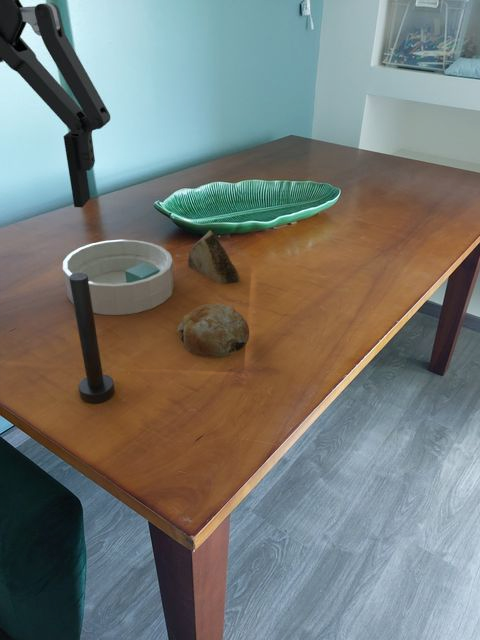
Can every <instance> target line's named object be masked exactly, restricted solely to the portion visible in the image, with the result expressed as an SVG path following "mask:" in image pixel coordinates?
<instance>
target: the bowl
mask: <svg viewBox="0 0 480 640" xmlns="http://www.w3.org/2000/svg"><path fill="white" fill-rule="evenodd" d="M141 263H144V264H147V265H149V266H152V267H154V268H157V269H159V273H158V274H155V275H153V276H151V277H149V278H147V279H143V280H139V281H135V282H130V283H126V275H125V270H128V269H130V268H132V267H134V266H136V265H139V264H141ZM62 273H63V279H64V284H65V290H66V294H67V298H68V300H69V301H70V302H71V303H72V305H73V306H74V303H73V297H72V291H71V285H70V280H69V276H70V275H72V274H74V273H85V274H87V276H88V282H89V288H90V295H91V301H92V308H93V314H97V315H104V316H105V315H107V316H122V315H123V316H124V315H132V314H137V313H142V312H146V311H149V310H152V309H154V308H156V307H158V306H161V304H163V303H165V302H166V301H167V300H168V299H169V298H170V297H172V296H173V295H172V294H173V292H174V289H175V283H174V282H175V280H174V261H173V257H172V255H171V253H170V252H169V251H168V250H167V249H165V248H164V247H163V246H160V245H157V244H156V243H153V242H148V241H142V240H136V239H111V240H103V241H98V242H94V243H89V244H87V245H83V246H81V247H79V248H76V249H75V250H74V251H72V252H70V253H68V254H67V255H66V257H65V259H64V260H63V262H62Z"/></svg>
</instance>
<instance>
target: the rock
mask: <svg viewBox="0 0 480 640" xmlns="http://www.w3.org/2000/svg"><path fill="white" fill-rule="evenodd" d="M187 266H188V267H190V268H192V269H194V270H195V271H197V272H198V273H200V274H202V275H204V276H206V277H207V278H209V279H210V280H212V281H214V282H215V283H216V284H219V285H224V284H235V283H239V282H241V277H240V274H239V272H238V270H237V268H236V267H235V266H236V265H234V264H233V262H232V261H231V259H230V256H229V255H228V253H227V251H226V249H225V248H224V246H223V245H222V243H221V242H220V241H219V240H218V238H217V236H216V235H215V234H214V232H213V231H212V230H208V231H207V232H206V234H204V235H203V237H201V238H200V239H199V240H198V241H197V242H195V243H194V244H193V246H192V248H190V250H189V252H188V258H187Z"/></svg>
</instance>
